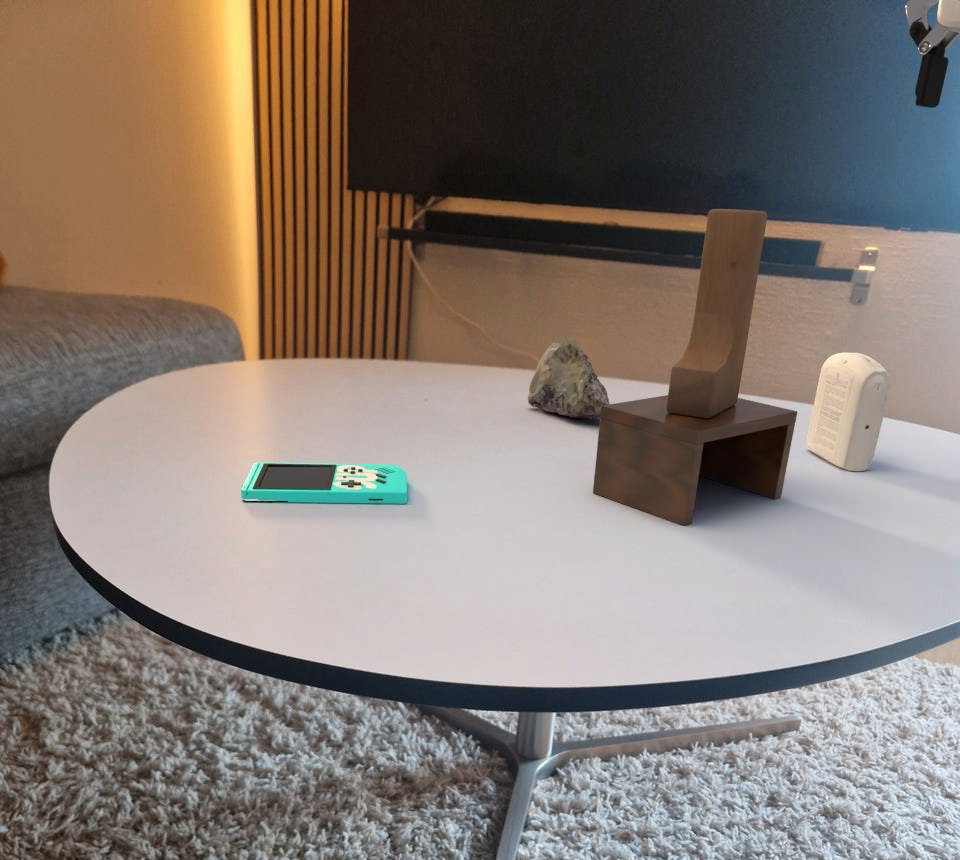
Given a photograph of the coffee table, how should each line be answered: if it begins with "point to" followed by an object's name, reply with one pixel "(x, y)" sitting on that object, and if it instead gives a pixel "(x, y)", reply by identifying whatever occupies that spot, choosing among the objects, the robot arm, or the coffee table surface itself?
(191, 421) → the coffee table surface
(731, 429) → the shelf
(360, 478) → the handheld game console
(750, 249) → the wooden block
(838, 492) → the coffee table surface
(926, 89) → the robot arm
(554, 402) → the mineral rock
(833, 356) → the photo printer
